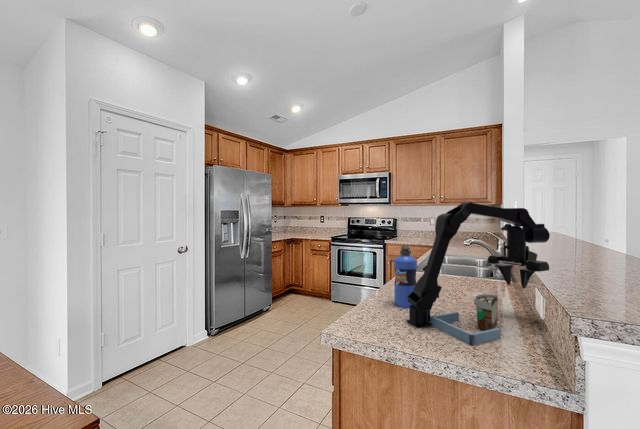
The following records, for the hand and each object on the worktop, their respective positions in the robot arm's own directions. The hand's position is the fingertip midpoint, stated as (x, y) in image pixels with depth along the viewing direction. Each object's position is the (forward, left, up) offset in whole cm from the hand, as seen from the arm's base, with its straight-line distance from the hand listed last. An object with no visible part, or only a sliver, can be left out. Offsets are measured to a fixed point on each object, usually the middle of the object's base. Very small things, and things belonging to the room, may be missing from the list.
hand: (516, 286), depth 107 cm
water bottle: (-25, +30, -12) cm, 41 cm away
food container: (-16, 0, -12) cm, 20 cm away
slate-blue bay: (-26, 0, -12) cm, 28 cm away
